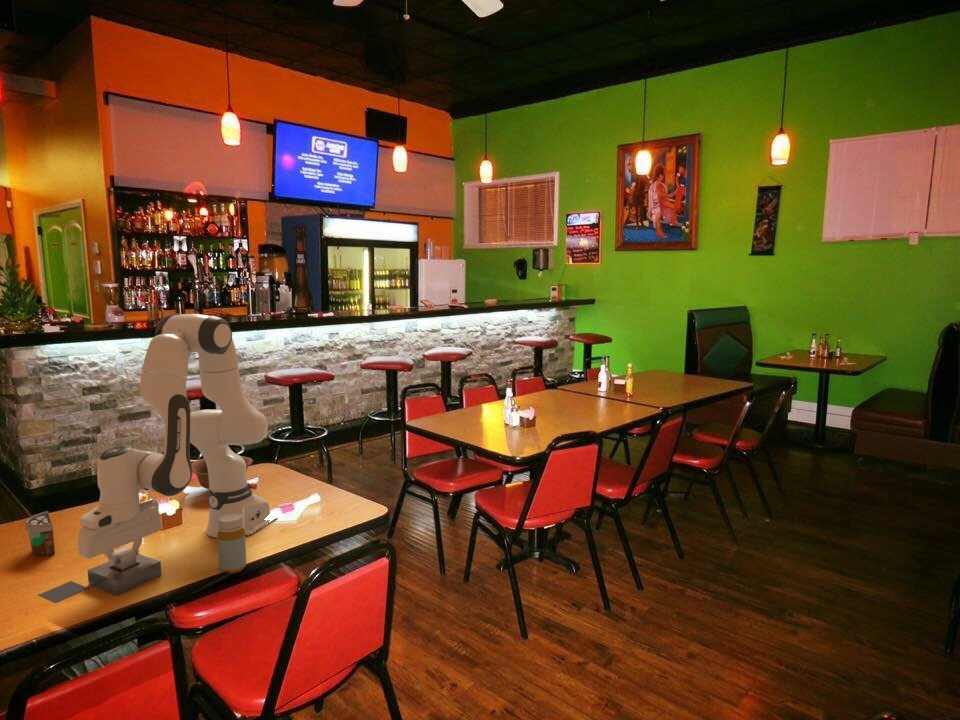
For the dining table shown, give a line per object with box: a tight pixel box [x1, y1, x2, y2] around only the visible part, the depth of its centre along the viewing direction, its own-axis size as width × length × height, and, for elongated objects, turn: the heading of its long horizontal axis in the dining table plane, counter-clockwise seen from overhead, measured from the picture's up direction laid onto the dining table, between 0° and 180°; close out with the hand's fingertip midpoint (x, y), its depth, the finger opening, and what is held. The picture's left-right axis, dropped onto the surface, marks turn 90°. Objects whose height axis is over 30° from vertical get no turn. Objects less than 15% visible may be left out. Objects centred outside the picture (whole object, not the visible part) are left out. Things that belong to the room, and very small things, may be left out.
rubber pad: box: [37, 580, 90, 604], centre depth 153 cm, size 8×8×1 cm
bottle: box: [217, 513, 247, 575], centre depth 167 cm, size 7×7×15 cm
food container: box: [24, 510, 56, 557], centre depth 176 cm, size 12×6×10 cm, turn 40°
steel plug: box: [111, 546, 137, 572], centre depth 159 cm, size 4×4×8 cm
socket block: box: [87, 553, 162, 597], centre depth 159 cm, size 12×12×5 cm
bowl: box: [191, 455, 254, 490], centre depth 227 cm, size 22×22×11 cm
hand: (124, 559), depth 159 cm, fingers closed on steel plug, 4 cm apart
